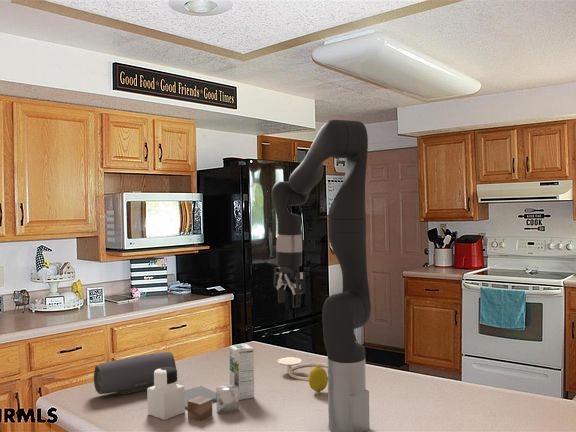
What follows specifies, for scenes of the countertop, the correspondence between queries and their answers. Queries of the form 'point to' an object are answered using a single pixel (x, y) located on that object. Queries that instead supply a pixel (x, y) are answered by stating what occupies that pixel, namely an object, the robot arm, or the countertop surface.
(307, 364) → the hand towel holder
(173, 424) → the countertop surface
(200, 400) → the walnut block
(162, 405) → the medicine bottle
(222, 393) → the brushed tin
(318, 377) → the lemon
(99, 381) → the bluetooth speaker
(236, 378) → the syrup box
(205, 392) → the plate
